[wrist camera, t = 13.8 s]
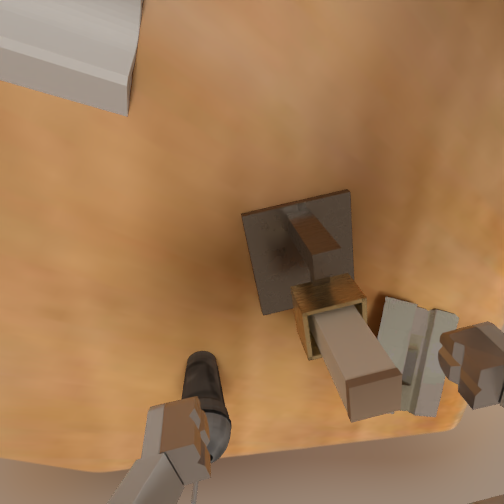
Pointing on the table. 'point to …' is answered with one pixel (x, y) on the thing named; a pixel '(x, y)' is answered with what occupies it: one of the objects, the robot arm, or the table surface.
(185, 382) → the dark travel mug
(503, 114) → the table surface
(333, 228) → the bracket
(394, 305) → the grey grooved block
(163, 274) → the table surface
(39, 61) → the crown molding
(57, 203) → the table surface
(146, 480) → the robot arm
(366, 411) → the rail end
